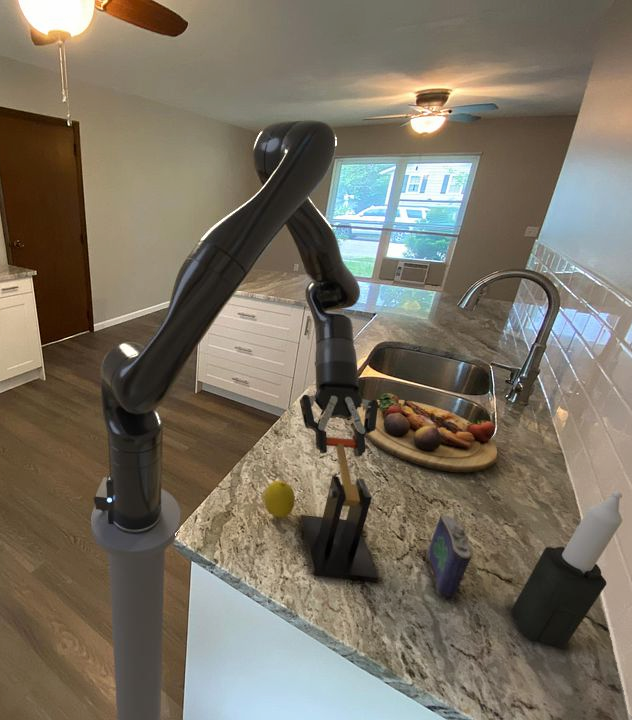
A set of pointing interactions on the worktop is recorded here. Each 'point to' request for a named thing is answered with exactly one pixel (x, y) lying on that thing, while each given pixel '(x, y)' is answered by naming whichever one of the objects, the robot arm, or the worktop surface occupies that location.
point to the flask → (448, 556)
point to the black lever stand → (340, 537)
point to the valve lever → (345, 469)
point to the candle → (567, 579)
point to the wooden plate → (432, 436)
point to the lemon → (279, 499)
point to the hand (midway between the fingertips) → (340, 454)
